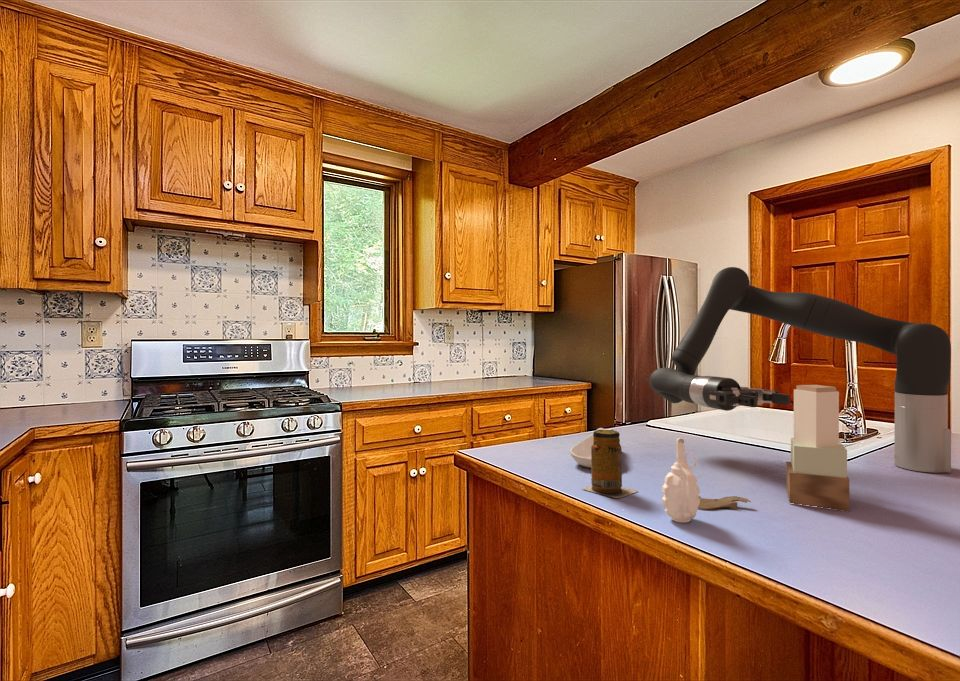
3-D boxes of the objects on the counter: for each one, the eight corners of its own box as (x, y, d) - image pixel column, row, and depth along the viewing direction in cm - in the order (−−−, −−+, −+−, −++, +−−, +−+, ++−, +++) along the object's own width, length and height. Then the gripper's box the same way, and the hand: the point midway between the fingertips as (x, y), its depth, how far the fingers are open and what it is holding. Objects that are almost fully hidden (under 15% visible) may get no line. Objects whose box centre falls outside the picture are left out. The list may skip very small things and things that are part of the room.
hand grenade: (655, 513, 90) (654, 435, 89) (689, 512, 90) (688, 434, 90) (675, 530, 82) (674, 444, 82) (711, 528, 83) (711, 443, 83)
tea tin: (815, 439, 98) (815, 384, 98) (838, 445, 93) (838, 387, 93) (793, 441, 97) (793, 385, 97) (816, 447, 92) (816, 388, 92)
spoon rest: (615, 475, 114) (615, 444, 114) (564, 470, 119) (564, 440, 119) (631, 452, 136) (630, 425, 136) (587, 448, 141) (587, 422, 141)
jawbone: (716, 522, 88) (715, 510, 88) (636, 491, 107) (635, 481, 107) (752, 509, 92) (751, 498, 92) (668, 481, 111) (667, 472, 110)
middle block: (839, 467, 97) (839, 441, 97) (846, 478, 90) (846, 450, 90) (790, 462, 101) (790, 437, 101) (794, 472, 94) (794, 445, 93)
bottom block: (840, 497, 98) (840, 466, 97) (849, 512, 90) (849, 478, 89) (786, 491, 102) (786, 461, 102) (789, 505, 94) (789, 472, 94)
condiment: (603, 482, 109) (603, 427, 108) (638, 492, 102) (637, 432, 102) (581, 489, 104) (581, 431, 104) (616, 500, 97) (616, 438, 97)
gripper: (689, 377, 118) (744, 384, 102) (738, 375, 122) (799, 381, 106) (689, 409, 118) (744, 421, 102) (738, 406, 122) (798, 417, 107)
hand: (772, 401), depth 104 cm, fingers open, 8 cm apart
